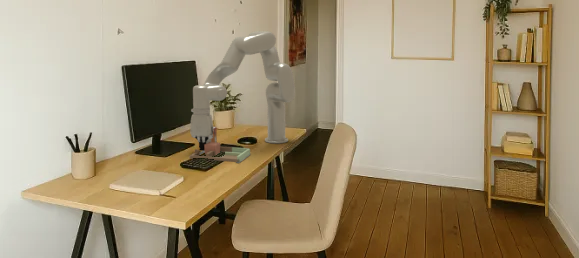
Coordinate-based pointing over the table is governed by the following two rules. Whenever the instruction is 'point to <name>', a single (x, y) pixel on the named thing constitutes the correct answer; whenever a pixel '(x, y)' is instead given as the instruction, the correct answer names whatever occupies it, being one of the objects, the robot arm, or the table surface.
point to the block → (212, 147)
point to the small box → (213, 136)
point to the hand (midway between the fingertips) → (202, 149)
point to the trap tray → (230, 154)
